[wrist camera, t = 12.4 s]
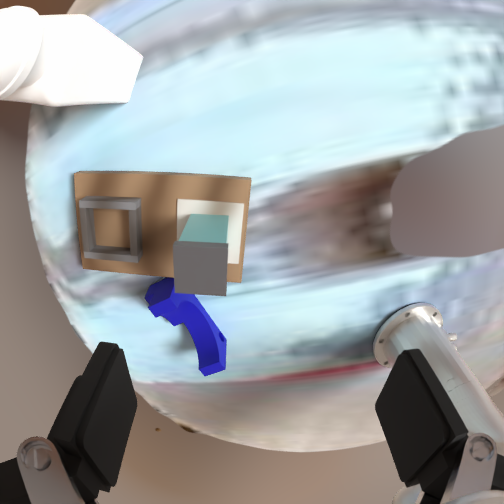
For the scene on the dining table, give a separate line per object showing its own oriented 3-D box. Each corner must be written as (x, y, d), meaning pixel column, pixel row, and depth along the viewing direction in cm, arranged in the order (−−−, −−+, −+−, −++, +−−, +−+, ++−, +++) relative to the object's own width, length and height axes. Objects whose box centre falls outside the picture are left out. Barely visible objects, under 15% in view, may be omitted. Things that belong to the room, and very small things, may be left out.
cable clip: (150, 285, 38) (137, 312, 32) (179, 270, 37) (169, 297, 32) (199, 349, 42) (195, 379, 37) (226, 338, 42) (225, 369, 36)
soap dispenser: (149, 52, 26) (28, -18, 6) (131, 108, 29) (-14, 113, 9) (98, 45, 25) (-42, 0, 5) (82, 99, 28) (-72, 107, 8)
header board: (250, 177, 33) (252, 184, 29) (240, 276, 38) (241, 291, 34) (79, 171, 31) (65, 177, 28) (87, 263, 36) (76, 276, 33)
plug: (230, 213, 32) (228, 248, 24) (228, 252, 34) (226, 296, 26) (189, 211, 32) (172, 245, 24) (189, 249, 34) (174, 293, 26)
